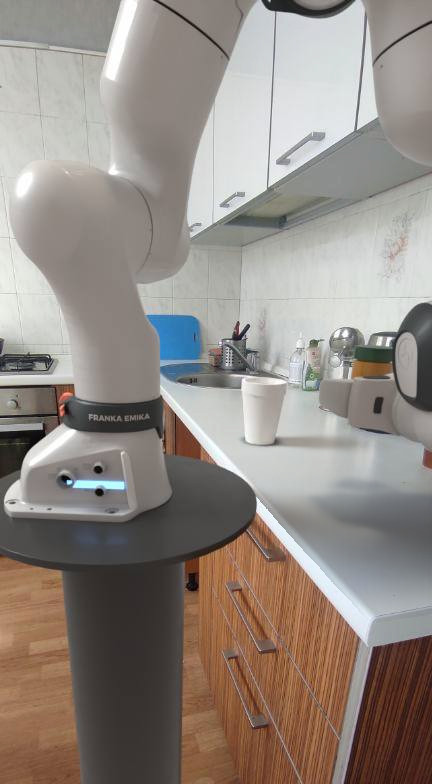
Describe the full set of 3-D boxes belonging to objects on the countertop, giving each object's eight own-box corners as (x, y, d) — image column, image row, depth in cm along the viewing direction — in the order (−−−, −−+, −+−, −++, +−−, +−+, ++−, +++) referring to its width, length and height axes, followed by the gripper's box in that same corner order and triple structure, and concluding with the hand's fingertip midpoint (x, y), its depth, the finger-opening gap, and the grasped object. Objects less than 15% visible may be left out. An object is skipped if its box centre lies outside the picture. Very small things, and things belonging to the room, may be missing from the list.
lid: (363, 361, 68) (365, 348, 68) (346, 356, 74) (347, 344, 73) (402, 362, 69) (404, 349, 69) (382, 357, 75) (384, 345, 74)
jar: (355, 422, 72) (365, 351, 68) (339, 413, 77) (348, 347, 73) (391, 422, 73) (403, 352, 69) (372, 413, 78) (383, 348, 74)
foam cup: (232, 435, 104) (235, 377, 100) (270, 433, 107) (275, 376, 103) (248, 448, 96) (252, 385, 91) (288, 445, 99) (294, 384, 94)
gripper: (491, 380, 62) (429, 366, 75) (346, 378, 58) (308, 364, 71) (479, 427, 64) (421, 405, 77) (340, 427, 61) (303, 405, 73)
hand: (366, 385), depth 74 cm, fingers closed on jar, 6 cm apart
